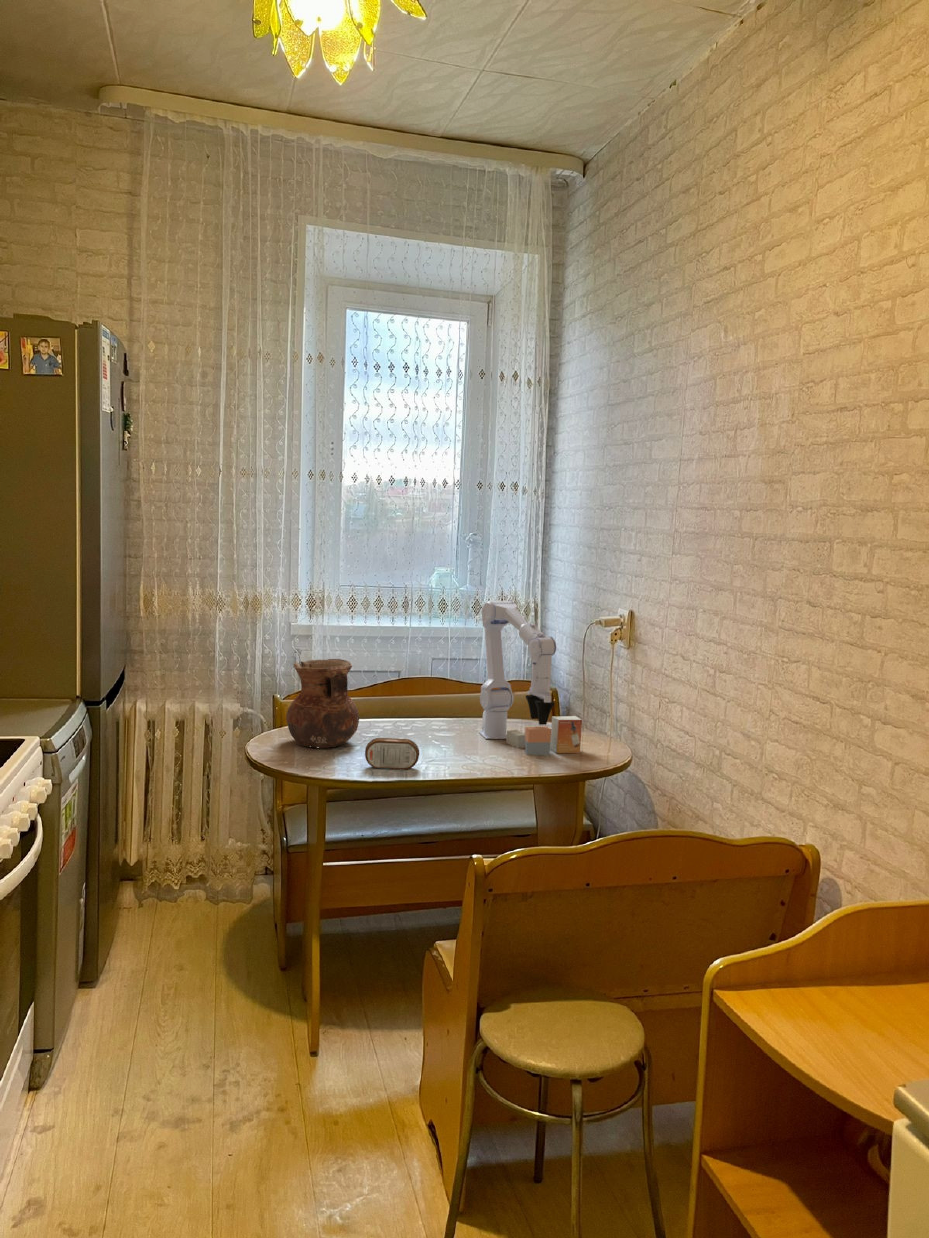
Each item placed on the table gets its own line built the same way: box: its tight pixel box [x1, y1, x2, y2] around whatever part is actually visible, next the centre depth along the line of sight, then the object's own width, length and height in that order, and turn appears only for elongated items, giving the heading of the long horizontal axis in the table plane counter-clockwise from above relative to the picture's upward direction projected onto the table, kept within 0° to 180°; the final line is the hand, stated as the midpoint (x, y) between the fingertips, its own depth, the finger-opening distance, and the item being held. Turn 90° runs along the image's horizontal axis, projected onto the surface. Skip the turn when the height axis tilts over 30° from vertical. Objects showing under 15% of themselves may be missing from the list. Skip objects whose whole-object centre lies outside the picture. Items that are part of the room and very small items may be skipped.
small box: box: [550, 715, 583, 754], centre depth 282 cm, size 8×6×10 cm
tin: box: [364, 737, 420, 771], centre depth 254 cm, size 15×3×8 cm, turn 93°
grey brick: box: [505, 729, 526, 749], centre depth 287 cm, size 4×7×4 cm, turn 28°
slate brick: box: [524, 741, 551, 756], centre depth 278 cm, size 4×7×4 cm, turn 92°
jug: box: [285, 658, 360, 749], centre depth 277 cm, size 22×21×25 cm
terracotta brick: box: [524, 726, 551, 743], centre depth 277 cm, size 4×7×4 cm, turn 105°
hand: (538, 721), depth 277 cm, fingers open, 7 cm apart
